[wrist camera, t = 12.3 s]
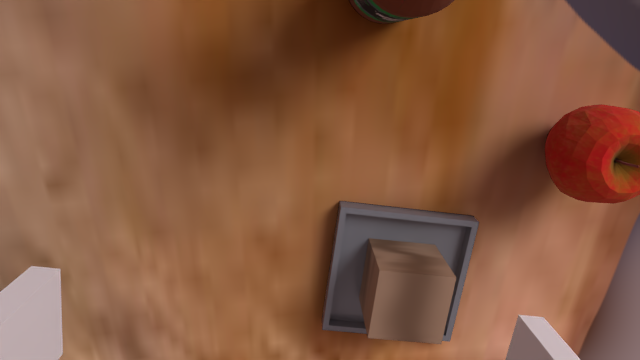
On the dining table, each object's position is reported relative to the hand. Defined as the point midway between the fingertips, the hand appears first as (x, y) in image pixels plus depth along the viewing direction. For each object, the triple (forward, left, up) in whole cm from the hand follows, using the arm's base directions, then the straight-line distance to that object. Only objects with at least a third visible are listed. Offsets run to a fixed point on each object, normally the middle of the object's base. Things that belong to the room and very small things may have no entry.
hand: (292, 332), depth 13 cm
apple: (+26, +2, -33) cm, 42 cm away
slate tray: (+12, -14, -33) cm, 37 cm away
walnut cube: (+12, -14, -32) cm, 37 cm away
